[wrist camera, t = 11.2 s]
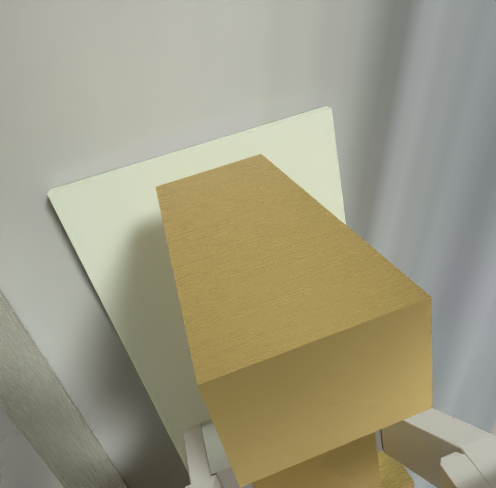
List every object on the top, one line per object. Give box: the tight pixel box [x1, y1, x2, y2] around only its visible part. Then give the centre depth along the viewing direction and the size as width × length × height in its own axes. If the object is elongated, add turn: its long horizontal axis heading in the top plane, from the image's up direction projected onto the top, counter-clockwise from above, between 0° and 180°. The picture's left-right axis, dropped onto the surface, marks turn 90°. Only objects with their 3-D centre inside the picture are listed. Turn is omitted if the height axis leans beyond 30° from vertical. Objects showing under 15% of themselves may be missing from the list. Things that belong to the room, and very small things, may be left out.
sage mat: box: [47, 106, 346, 473], centre depth 16 cm, size 20×8×1 cm, turn 14°
